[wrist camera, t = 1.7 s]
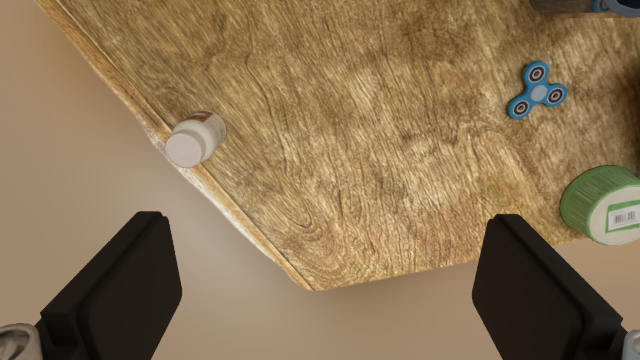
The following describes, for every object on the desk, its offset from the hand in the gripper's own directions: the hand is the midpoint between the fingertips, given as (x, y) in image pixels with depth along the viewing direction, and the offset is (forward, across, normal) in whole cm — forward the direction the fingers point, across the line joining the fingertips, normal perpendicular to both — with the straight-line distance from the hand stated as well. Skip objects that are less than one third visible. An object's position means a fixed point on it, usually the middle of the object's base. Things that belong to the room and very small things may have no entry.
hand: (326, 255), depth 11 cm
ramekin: (+26, -34, +14) cm, 45 cm away
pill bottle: (+31, +13, +5) cm, 34 cm away
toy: (+31, -23, +1) cm, 38 cm away
